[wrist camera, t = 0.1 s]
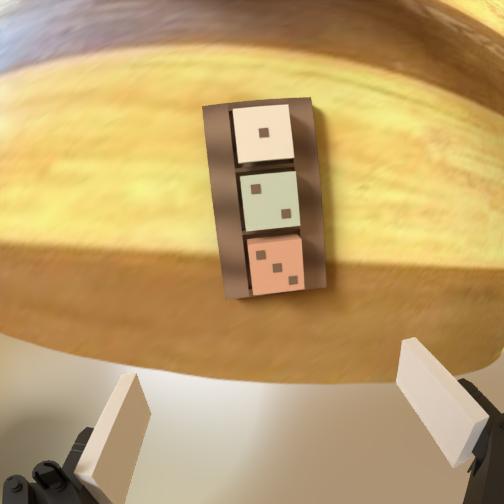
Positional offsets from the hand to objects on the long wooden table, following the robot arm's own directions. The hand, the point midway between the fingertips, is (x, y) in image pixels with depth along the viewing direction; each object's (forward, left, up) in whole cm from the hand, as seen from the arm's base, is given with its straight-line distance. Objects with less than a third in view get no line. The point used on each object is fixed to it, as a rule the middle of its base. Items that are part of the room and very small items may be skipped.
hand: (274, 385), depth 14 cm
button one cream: (-14, +3, -25) cm, 29 cm away
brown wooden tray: (-6, +3, -28) cm, 28 cm away
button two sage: (-6, +3, -25) cm, 26 cm away
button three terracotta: (+1, +3, -25) cm, 25 cm away
